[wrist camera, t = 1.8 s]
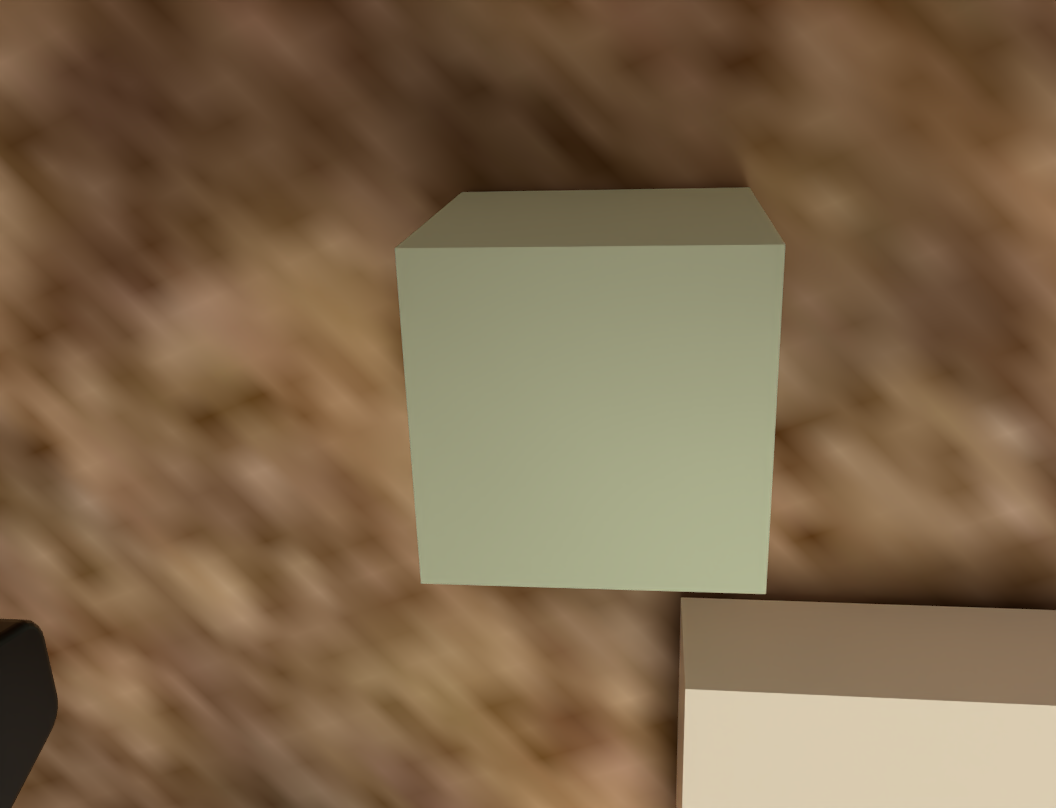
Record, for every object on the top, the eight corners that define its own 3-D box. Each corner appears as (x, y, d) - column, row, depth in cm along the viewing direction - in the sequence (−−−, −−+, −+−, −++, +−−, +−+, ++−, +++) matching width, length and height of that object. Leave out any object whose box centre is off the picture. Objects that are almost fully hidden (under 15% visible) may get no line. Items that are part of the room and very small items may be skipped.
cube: (476, 451, 20) (421, 583, 15) (462, 191, 18) (395, 248, 13) (738, 456, 19) (765, 593, 14) (749, 186, 17) (785, 244, 13)
